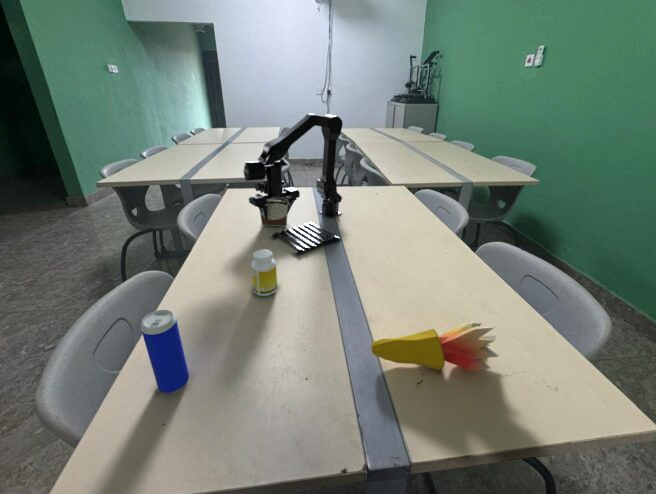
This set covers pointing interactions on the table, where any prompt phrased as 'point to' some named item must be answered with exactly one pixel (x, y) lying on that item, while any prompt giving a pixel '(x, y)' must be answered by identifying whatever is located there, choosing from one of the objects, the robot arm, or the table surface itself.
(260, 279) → the pill bottle
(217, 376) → the table surface
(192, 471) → the table surface
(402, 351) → the torch
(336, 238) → the drying rack
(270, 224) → the food container
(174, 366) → the beverage can
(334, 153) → the robot arm
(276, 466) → the table surface
